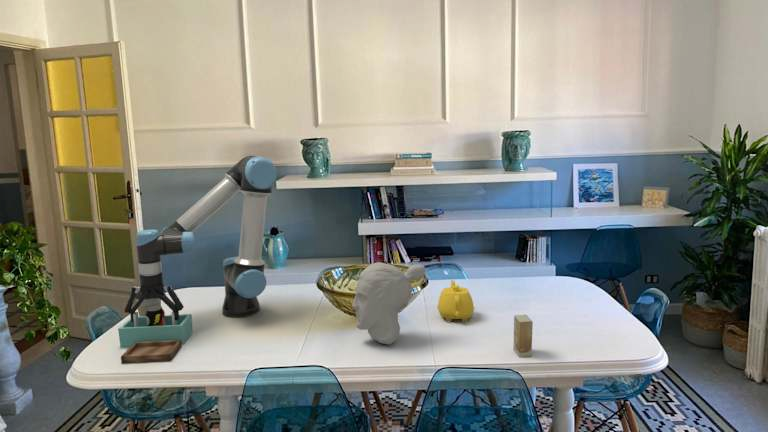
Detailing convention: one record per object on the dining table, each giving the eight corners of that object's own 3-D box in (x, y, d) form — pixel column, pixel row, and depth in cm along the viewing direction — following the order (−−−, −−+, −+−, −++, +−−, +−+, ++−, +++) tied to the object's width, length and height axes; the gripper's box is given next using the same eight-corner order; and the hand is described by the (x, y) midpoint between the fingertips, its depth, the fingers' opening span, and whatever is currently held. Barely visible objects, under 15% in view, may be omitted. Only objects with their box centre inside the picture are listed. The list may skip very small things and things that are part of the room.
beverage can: (153, 336, 208) (149, 305, 206) (169, 336, 208) (166, 305, 206) (145, 343, 202) (142, 311, 200) (162, 342, 202) (159, 310, 200)
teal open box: (193, 331, 212) (191, 314, 210) (183, 344, 200) (181, 325, 198) (133, 334, 210) (131, 316, 209) (120, 347, 199) (118, 328, 197)
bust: (351, 335, 203) (348, 260, 198) (421, 328, 207) (420, 255, 203) (356, 351, 189) (352, 271, 184) (431, 344, 193) (430, 265, 188)
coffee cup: (155, 331, 213) (151, 293, 210) (133, 330, 215) (129, 292, 212) (168, 323, 222) (164, 286, 219) (148, 322, 223) (144, 285, 221)
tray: (181, 346, 198) (181, 339, 197) (170, 361, 186) (170, 354, 186) (135, 348, 197) (134, 342, 197) (121, 363, 185) (120, 356, 185)
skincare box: (512, 349, 187) (513, 314, 185) (525, 348, 187) (526, 313, 185) (519, 357, 180) (519, 321, 178) (532, 356, 181) (532, 320, 179)
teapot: (439, 325, 210) (439, 293, 208) (436, 308, 230) (435, 278, 227) (476, 325, 209) (476, 292, 207) (469, 307, 229) (469, 277, 227)
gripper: (189, 269, 205) (193, 324, 209) (119, 271, 204) (125, 327, 207) (183, 274, 198) (187, 331, 201) (110, 277, 196) (117, 334, 200)
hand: (156, 329), depth 204 cm, fingers open, 13 cm apart
